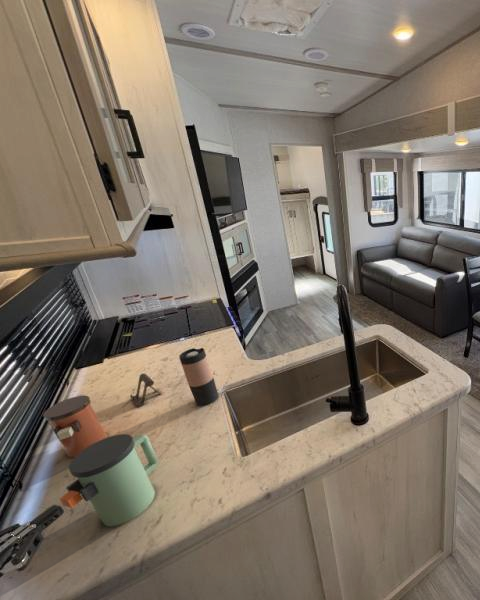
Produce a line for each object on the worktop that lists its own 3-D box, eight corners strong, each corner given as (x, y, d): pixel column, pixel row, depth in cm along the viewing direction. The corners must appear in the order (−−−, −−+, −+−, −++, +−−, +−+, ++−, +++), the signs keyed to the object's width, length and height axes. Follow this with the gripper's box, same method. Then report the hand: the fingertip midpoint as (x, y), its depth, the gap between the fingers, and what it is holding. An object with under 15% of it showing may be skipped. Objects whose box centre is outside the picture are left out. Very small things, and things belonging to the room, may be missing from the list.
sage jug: (148, 471, 85) (124, 421, 79) (179, 477, 82) (158, 426, 76) (82, 529, 71) (48, 473, 65) (118, 539, 68) (85, 482, 62)
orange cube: (74, 496, 66) (70, 490, 65) (83, 498, 65) (79, 492, 64) (63, 505, 64) (59, 498, 63) (71, 507, 63) (67, 501, 63)
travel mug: (199, 410, 108) (182, 361, 101) (193, 401, 113) (176, 353, 106) (222, 398, 113) (207, 351, 106) (215, 390, 118) (200, 345, 111)
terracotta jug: (75, 436, 99) (54, 397, 94) (114, 424, 104) (96, 386, 99) (59, 467, 88) (34, 425, 83) (103, 451, 93) (82, 410, 87)
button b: (62, 435, 86) (59, 430, 86) (74, 431, 88) (71, 426, 87) (59, 440, 85) (56, 434, 84) (71, 436, 86) (68, 430, 85)
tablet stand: (131, 399, 116) (123, 381, 113) (156, 388, 122) (148, 370, 119) (138, 408, 111) (130, 389, 108) (163, 396, 117) (156, 378, 114)
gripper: (-70, 615, 44) (75, 500, 59) (-122, 592, 47) (28, 489, 63) (-40, 644, 46) (91, 527, 62) (-92, 620, 49) (45, 514, 65)
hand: (59, 508), depth 62 cm, fingers closed
